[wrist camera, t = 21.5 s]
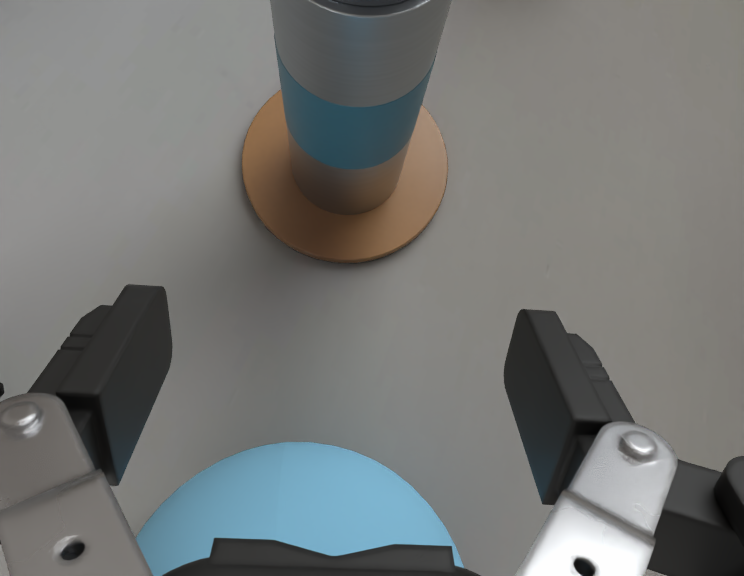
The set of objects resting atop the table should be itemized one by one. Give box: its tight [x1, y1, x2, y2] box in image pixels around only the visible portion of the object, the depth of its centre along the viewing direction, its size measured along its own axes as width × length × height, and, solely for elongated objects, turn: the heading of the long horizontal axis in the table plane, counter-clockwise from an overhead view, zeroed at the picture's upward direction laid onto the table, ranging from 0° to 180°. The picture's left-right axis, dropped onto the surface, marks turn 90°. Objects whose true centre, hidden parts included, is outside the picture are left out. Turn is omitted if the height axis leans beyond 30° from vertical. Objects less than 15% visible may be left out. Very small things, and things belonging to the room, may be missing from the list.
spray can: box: [270, 0, 452, 215], centre depth 23 cm, size 6×6×16 cm
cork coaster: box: [242, 90, 448, 263], centre depth 31 cm, size 11×11×1 cm
